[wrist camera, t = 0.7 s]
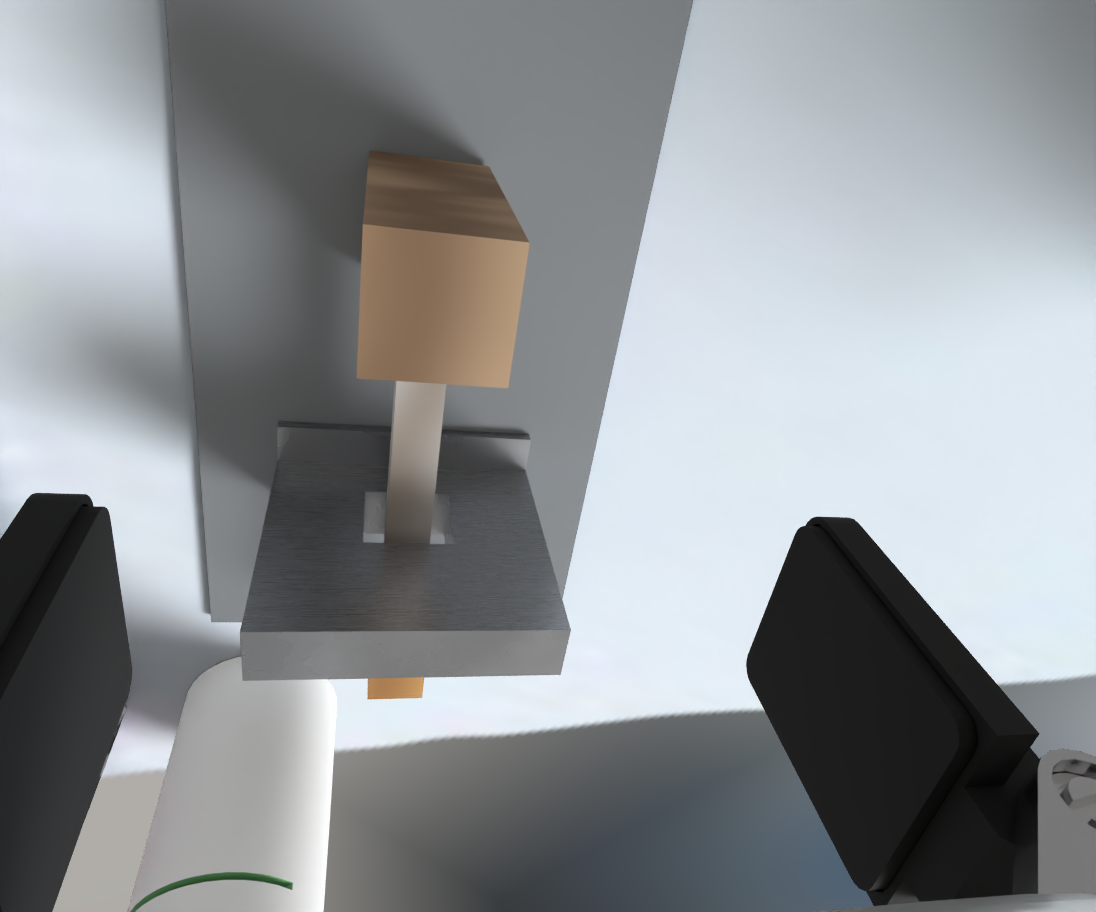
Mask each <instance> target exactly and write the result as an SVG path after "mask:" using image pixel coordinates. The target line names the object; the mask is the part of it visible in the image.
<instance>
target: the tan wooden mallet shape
mask: <svg viewBox="0 0 1096 912" xmlns="http://www.w3.org/2000/svg"><path fill="white" fill-rule="evenodd" d="M529 244H530V242H529V240H528V238H527V237H526V235H525V233H524V231H523V229H522V227H521V225H520V223H519V222H518V220H517V218H516V216H515V214H514V212H513V210H512V208H511V207H510V205H509V203H508V201H507V199H506V197H505V195H504V193H503V192H502V190H501V188H500V186H499V184H498V182H497V180H496V178H495V176H494V175H493V173H492V171H491V169H490V167H489V166H484V165H476V164H469V163H461V162H454V161H446V160H439V159H431V158H423V157H416V156H408V155H401V154H393V153H386V152H378V151H370V150H369V159H368V171H367V182H366V194H365V205H364V217H363V233H362V258H361V282H360V307H359V332H358V357H357V378H359V379H374V380H389V381H395V383H394V398H393V413H392V427H391V442H390V457H389V472H388V487H387V502H386V517H385V532H384V543H421V544H430V537H431V527H432V518H433V508H434V498H435V489H436V479H437V469H438V460H439V450H440V440H441V431H442V421H443V412H444V402H445V392H446V384H450V385H465V386H480V387H495V388H508V386H509V379H510V373H511V366H512V359H513V352H514V346H515V339H516V332H517V325H518V319H519V312H520V305H521V298H522V291H523V285H524V278H525V271H526V264H527V258H528V251H529ZM423 683H424V677H416V678H368V699H395V698H422V692H423Z"/></svg>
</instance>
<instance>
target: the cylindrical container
mask: <svg viewBox="0 0 1096 912" xmlns="http://www.w3.org/2000/svg"><path fill="white" fill-rule="evenodd" d="M336 709H337V698H336V694H335V691H334V689H333V687H332V685H331V684H330V682H329V681H328V680H327V679H313V680H262V681H242V661H241V657H236V658H233V659H230V660H226V661H223V662H221V663H219V664H217V665H215V666H213V667H211V668H209V669H208V670H207V671H205V672H204V673H202V674H201V675H200V676H199V677H198V678H197V679H196V680H195V681H194V682H193V684H192V686H191V687H190V689H189V691H188V693H187V696H186V700H185V704H184V707H183V711H182V715H181V718H180V722H179V725H178V729H177V733H176V736H175V740H174V744H173V747H172V751H171V755H170V758H169V762H168V766H167V769H166V773H165V777H164V780H163V784H162V787H161V791H160V795H159V798H158V802H157V806H156V809H155V813H154V817H153V820H152V824H151V828H150V831H149V835H148V839H147V842H146V846H145V850H144V853H143V857H142V861H141V864H140V868H139V871H138V875H137V879H136V882H135V886H134V889H133V893H132V897H131V900H130V904H129V908H128V911H127V912H323V910H324V896H325V895H324V894H325V881H326V865H327V852H328V837H329V822H330V806H331V789H332V774H333V773H332V772H333V758H334V742H335V725H336Z"/></svg>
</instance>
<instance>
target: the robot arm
mask: <svg viewBox="0 0 1096 912" xmlns="http://www.w3.org/2000/svg"><path fill="white" fill-rule="evenodd" d="M746 666H747V674H748V678H749V681H750V683H751V685H752V687H753V689H754V691H755V693H756V694H757V696H758V698H759V700H760V702H761V704H762V706H763V708H764V710H765V712H766V714H767V715H768V718H769V720H770V722H771V724H772V726H773V727H774V729H775V731H776V733H777V735H778V737H779V739H780V741H781V743H782V745H783V747H784V749H785V751H786V752H787V755H788V756H789V759H790V760H791V762H792V764H793V766H794V768H795V770H796V772H797V774H798V776H799V778H800V780H801V782H802V784H803V786H804V788H805V789H806V792H807V793H808V795H809V797H810V799H811V801H812V803H813V805H814V807H815V809H816V811H817V813H818V815H819V817H820V819H821V820H822V823H823V824H824V826H825V828H826V830H827V832H828V834H829V836H830V838H831V840H832V842H833V844H834V846H835V848H836V850H837V852H838V854H839V856H840V858H841V859H842V861H843V863H844V865H845V867H846V869H847V871H848V873H849V875H850V877H851V879H852V880H853V882H854V883H855V884H856V885H857V886H858V887H859V888H860V889H862V890H864V891H866V892H867V894H868V895H869V897H870V899H871V901H872V903H873V905H874V906H871V907H860V908H850V909H839V910H829V911H819V912H1096V757H1095V756H1092V755H1089V754H1086V753H1084V752H1081V751H1076V750H1069V749H1058V750H1051V751H1049V752H1047V753H1046V754H1045V755H1043V756H1042V757H1041V758H1040V759H1039V758H1038V757H1037V755H1036V754H1035V753H1034V752H1033V751H1032V749H1031V748H1030V747H1031V745H1032V744H1033V742H1034V741H1035V739H1036V738H1037V737H1038V735H1039V733H1038V731H1037V730H1036V729H1035V728H1034V727H1033V726H1032V725H1031V723H1030V722H1029V721H1028V720H1027V719H1026V718H1025V716H1024V715H1023V714H1022V713H1021V712H1020V711H1019V709H1018V708H1017V707H1016V706H1015V705H1014V704H1013V702H1012V701H1011V700H1010V699H1009V698H1008V697H1007V695H1006V694H1005V693H1004V692H1003V691H1002V690H1001V688H1000V687H999V686H998V685H997V684H996V683H995V681H994V680H993V679H992V678H991V677H990V676H989V674H988V673H987V672H986V671H985V670H984V669H983V667H982V666H981V665H980V664H979V663H978V662H977V660H976V659H975V658H974V657H973V656H972V655H971V654H970V652H969V651H968V650H967V649H966V648H965V647H964V645H963V644H962V643H961V642H960V641H959V640H958V638H957V637H956V636H955V635H954V634H953V633H952V631H951V630H950V629H949V628H948V627H947V626H946V624H945V623H944V622H943V621H942V620H941V619H940V617H939V616H938V615H937V614H936V613H935V612H934V610H933V609H932V608H931V607H930V606H929V605H928V603H927V602H926V601H925V600H924V599H923V598H922V597H921V595H920V594H919V593H918V592H917V591H916V590H915V588H914V587H913V586H912V585H911V584H910V583H909V581H908V580H907V579H906V578H905V577H904V576H903V574H902V573H901V572H900V571H899V570H898V569H897V567H896V566H895V565H894V564H893V563H892V562H891V560H890V559H889V558H888V557H887V556H886V555H885V553H884V552H883V551H882V550H881V549H880V548H879V546H878V545H877V544H876V543H875V542H874V541H873V539H872V538H871V537H870V536H869V535H868V534H867V533H866V531H865V530H864V529H863V528H862V527H861V526H860V524H859V523H858V522H856V521H855V520H854V519H851V518H840V517H814V518H812V519H811V520H810V521H808V522H807V524H806V526H803V527H800V528H799V529H798V530H797V532H796V534H795V536H794V539H793V541H792V544H791V546H790V549H789V551H788V554H787V557H786V559H785V562H784V564H783V567H782V569H781V572H780V574H779V577H778V580H777V582H776V585H775V587H774V590H773V592H772V595H771V597H770V600H769V602H768V605H767V608H766V610H765V613H764V615H763V618H762V620H761V623H760V625H759V628H758V631H757V633H756V636H755V638H754V641H753V643H752V646H751V648H750V651H749V654H748V657H747V664H746ZM131 677H132V665H131V657H130V651H129V644H128V637H127V630H126V623H125V616H124V610H123V603H122V596H121V589H120V582H119V575H118V569H117V562H116V555H115V548H114V541H113V534H112V527H111V521H110V515H109V512H108V510H107V508H105V507H93V503H92V500H91V498H90V497H89V496H88V495H86V494H54V493H35V494H32V495H31V496H30V497H29V498H28V499H27V500H26V502H25V503H24V505H23V506H22V508H21V509H20V511H19V512H18V514H17V515H16V517H15V518H14V520H13V521H12V523H11V524H10V526H9V527H8V529H7V530H6V532H5V533H4V534H3V536H2V537H1V539H0V912H52V911H53V908H54V905H55V902H56V899H57V896H58V894H59V891H60V888H61V885H62V882H63V879H64V876H65V874H66V871H67V868H68V865H69V862H70V859H71V857H72V854H73V851H74V848H75V845H76V842H77V840H78V837H79V834H80V831H81V828H82V825H83V823H84V820H85V817H86V814H87V811H88V808H89V805H90V803H91V800H92V797H93V794H94V791H95V788H96V786H97V783H98V780H99V777H100V774H101V771H102V769H103V766H104V763H105V760H106V757H107V754H108V751H109V749H110V746H111V743H112V740H113V737H114V734H115V732H116V729H117V726H118V723H119V720H120V717H121V715H122V712H123V709H124V706H125V703H126V700H127V697H128V694H129V690H130V685H131Z"/></svg>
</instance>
